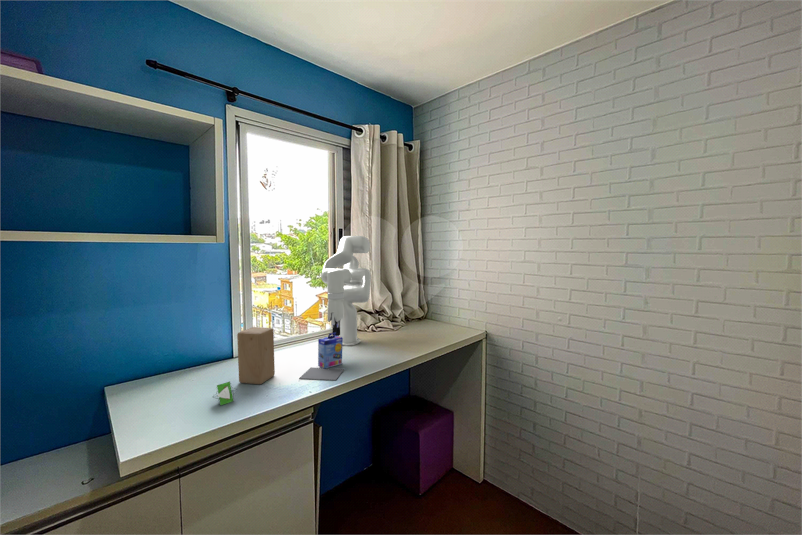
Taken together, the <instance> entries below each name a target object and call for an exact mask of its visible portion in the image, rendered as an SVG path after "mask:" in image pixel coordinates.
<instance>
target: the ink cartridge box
mask: <svg viewBox="0 0 802 535" xmlns="http://www.w3.org/2000/svg"><path fill="white" fill-rule="evenodd" d="M333 334H334V335H333ZM335 334H336V333H333V332H332V333H329V334H328V336H327V337H321V338H318V343H317V344H318V345H317V346H318V348H317V349H318V352H317V354H318V355H317V362H318V363H317V366H318V367H319V368H324V369H325V368H333V367H336V366H340V365H342V364H343V345H342V344H343V338H342V337H340V335H339V336H335Z"/></svg>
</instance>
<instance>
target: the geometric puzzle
mask: <svg viewBox="0 0 802 535" xmlns="http://www.w3.org/2000/svg"><path fill="white" fill-rule="evenodd" d="M232 386H233V385H232V383H231V381H226V382H224V383H221V384H220V383H219V384H217V385H216V389H217V394H216V395H214V396H212V398H213V399H215V398H216V399H217V400H218V401H217V402H218V404H219V406H223V405H226V404H229V403H232V402H234V400H235V399H234V395H235V394H236V391H238V390H239V389H238V388H236V387H232ZM234 389H235V390H234ZM234 391H235V393H234ZM235 397H236V395H235Z"/></svg>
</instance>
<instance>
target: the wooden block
mask: <svg viewBox="0 0 802 535" xmlns="http://www.w3.org/2000/svg"><path fill="white" fill-rule="evenodd" d="M236 336H237V337H236V338H237V361H238V382H239V383H241V384H250V385H251V384H252V385H253V384H254V385H262V384H264V383H265V382H266V381H268V380H270V379H271V378H273V377H274V376H275V372H276V371H275V370H276V369H275V336H274V329H273V328H272V327H261V326H260V327H257V326H256V327H255V326H252V327H250V328H247V329H245V330H241V331H239V332H237V335H236Z"/></svg>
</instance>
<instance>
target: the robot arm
mask: <svg viewBox="0 0 802 535" xmlns="http://www.w3.org/2000/svg"><path fill="white" fill-rule="evenodd" d="M370 249H371V243H370V240H369V239H368V238H367V237H365V236H363V235H344V236H342V237H341V238H340V240H339V244H338V248H337V251H336V253H335V254H333V255H332V256H330V257H329V258H328V259H327V260H326V261H325V262H324V264H323V267H322V270H321V275H320V278H321V281H322V282H323V283H324V284H327V286H326V287H327V300H328V301H327V302H328V303H327V315H326V316H327V319H326V320H327V322H330V323H331V327H332V333H336V334H335V336H340V337H342V338H343V344H342V346H348V347H349V346H355V345H358V344H360V343H361V340H360V338H358V319H357V318H358V312H357V307H356V306H355V305H354V304H353V303H355V304H357V303H358V304H359V303H363V304H364V303H367V302H369V300H370V297H371V296H370V294H371V281H372V277H371V276H372V274H371V271H370V270H369V269H368V268H366V267H365V268H362V267H361V268H360V263H359V260H358V259H357V257H355V255H354V254H367V253H369V252H370ZM339 267H340V268H339ZM341 267H343V268H341ZM333 335H334V334H332V336H333Z"/></svg>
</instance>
